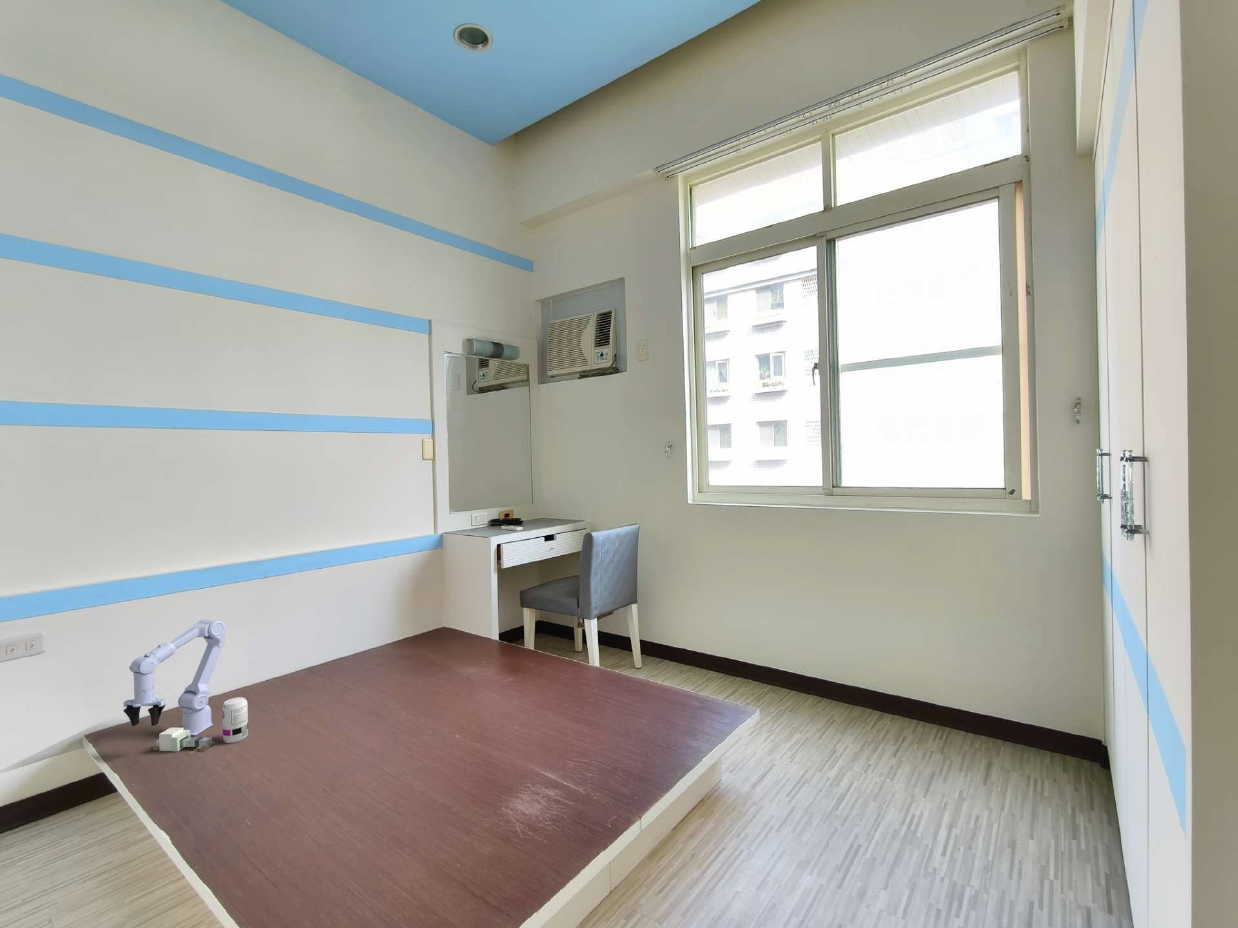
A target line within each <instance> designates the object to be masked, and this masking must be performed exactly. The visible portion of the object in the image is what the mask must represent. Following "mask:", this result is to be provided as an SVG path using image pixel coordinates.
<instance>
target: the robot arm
mask: <svg viewBox="0 0 1238 928" xmlns="http://www.w3.org/2000/svg"><path fill="white" fill-rule="evenodd" d="M226 630H227V626H226V625H225V623H224V622H223V621H221V620H213V619H209V618H208V619H207V618H203V619H200V620H199V621H198V622H196V623H194V624H193V625H192V626H191V627H190V628H189V629H187V630H186V631H184V632H183V633H182V634H181V635H178V636H177V637H176V638H174V639H173V640H172V641H170V642H164V643H158V645H157V647H156V648H153V649H152V650H151V651H149V652H146V653H144V656H139V657H136V658H134V659H133V660H132V661H131V664H130V666H129V667H128V668H129V671H130V672H132V673H133V697H134V698H133V699H127V700H124V701H123V708H124V709H123V713H124V714H125V715H126V716H127V717H128V719H129V721H130V723H131V727H135V726H137V725H139V723H140V711H141V708H142V707H149V708H148V709H147V711H148V713H149V717H150V724H151V726H152V727H155V726H157V725H158V724H159V721H160V718H161V715H162V712H163V710H164V709H165V707H166V699H164V698H158V697H155V684H154V683H155V679H154V678H155V674H154V671H155V670H156V669H157V667H158V666H159V665H160V664H161V663H163V662H164V661H166V660H168V658H171V656H173V655H175V652H176V650H177V649H180V648H181V647H182V646H183V645H186V644H187V643H189V642H191V641H192V640H194V639H196V638H203V639H204V640H205V642H206V644H207V645H206V648H205V650H204V653H203V655H202V658H201V660H200V662H199V664H198V667H197V669H196V672H195V673H194V677H193V679H192V682H191V683H190V684H189V685H187V686H186V687H184V691H183V692H182V693H181V694H180V696H179V697H178V700H177V705H178V706H179V707H181V712H182V715H181V716H182V728H183V730H190V736H198V735H199V734H201V733H203V732H204V731H205V730H207V729H208V728H210V727H211V726H213V725H214V723H213V722H212V709H211V707H210V705H209V704H208V703H209V695H210V692H211V691H210V689H209V686H208V684H209V682H210V679H211V677H212V674H213V673H214V672H213V671H214V669H215V667H216V665H217V662H218V659H219V657H220V654H221V653H222V650H223V647H224V644H225V641H226V636H225V635H226Z"/></svg>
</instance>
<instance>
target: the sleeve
mask: <svg viewBox="0 0 1238 928" xmlns="http://www.w3.org/2000/svg"><path fill="white" fill-rule="evenodd" d="M182 731H183V727H169V728H167V729H166V730H164V731H162V732H160V733H159V735H158V737H159V738H158V739H159V746H160V751H159V752H172V751H171V737H173V736H175V735H176V734H178V733H180V732H182Z"/></svg>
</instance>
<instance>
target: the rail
mask: <svg viewBox="0 0 1238 928" xmlns="http://www.w3.org/2000/svg"><path fill="white" fill-rule="evenodd" d="M215 743H216V742H215V741H213V737H210V736H209V737H208V736H207V737H205V736H200V737H198V736H193V737H191V736H190V737H184V738H183V739H181V740H180V747H184V748H186V747H187V748H190V747H191V748H194V749H193V750H192V751H190V752H188V753H187V754H188V755H193V754H195V753H196V752H197V751H199V752H205V751H207V750H209V749H210V748H212V747H213V746H214V745H215ZM155 744H156V745H155V747H154V748H152V750H153V752H161V751H160V746H159V738H158V739H156V740H155Z"/></svg>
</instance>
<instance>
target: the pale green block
mask: <svg viewBox="0 0 1238 928" xmlns="http://www.w3.org/2000/svg"><path fill="white" fill-rule="evenodd" d="M184 737H191V735H190V730H183V731H182V732H180V733H178V734H176V735H175V736H173V737H171V751H170V752H177V753H178V752H179V751H181V750H182V749H184V748H185V747H180V740H181V739H183V738H184Z"/></svg>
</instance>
